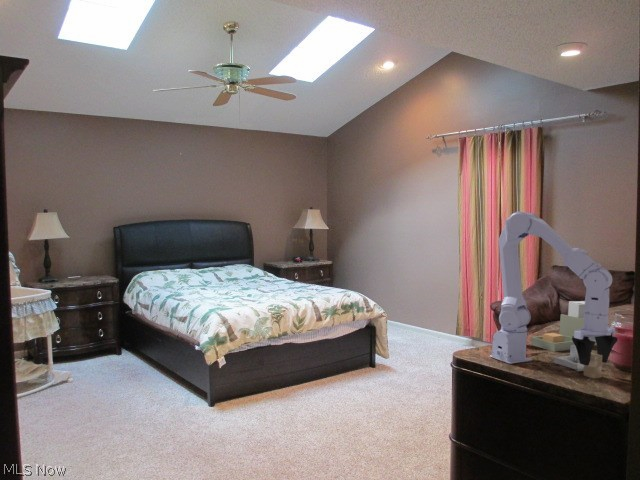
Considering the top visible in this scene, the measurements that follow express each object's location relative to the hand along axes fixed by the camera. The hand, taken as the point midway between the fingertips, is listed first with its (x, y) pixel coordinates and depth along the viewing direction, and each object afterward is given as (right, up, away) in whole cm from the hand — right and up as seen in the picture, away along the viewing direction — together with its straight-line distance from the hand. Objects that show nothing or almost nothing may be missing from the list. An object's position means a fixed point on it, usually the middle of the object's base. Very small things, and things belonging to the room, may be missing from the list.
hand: (593, 363), depth 134 cm
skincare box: (+16, -3, +36) cm, 40 cm away
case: (+5, -2, +31) cm, 31 cm away
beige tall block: (0, -4, 0) cm, 4 cm away
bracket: (0, -3, +9) cm, 10 cm away
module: (+3, -2, +30) cm, 30 cm away
